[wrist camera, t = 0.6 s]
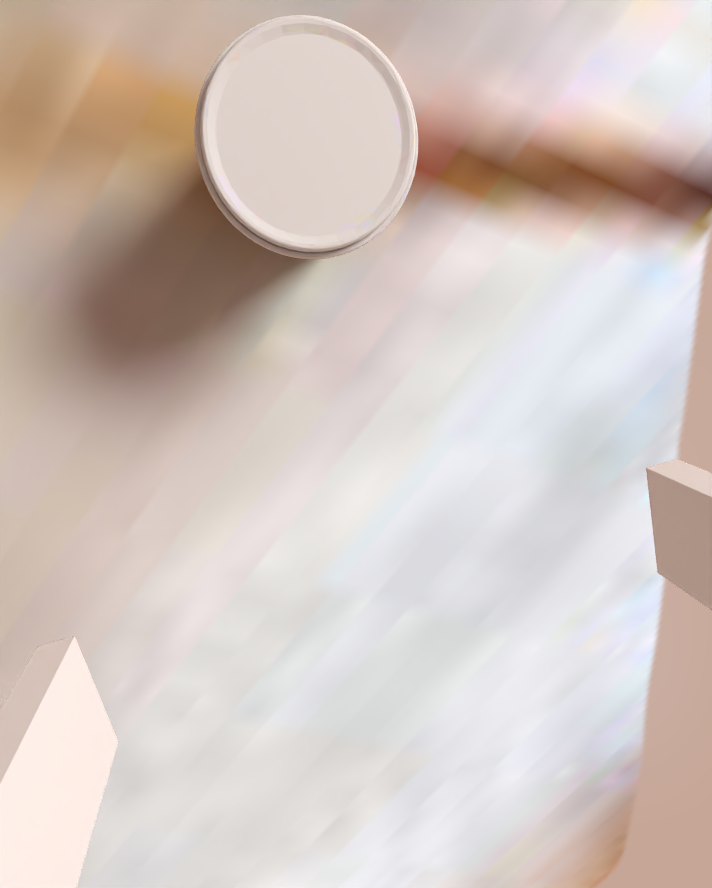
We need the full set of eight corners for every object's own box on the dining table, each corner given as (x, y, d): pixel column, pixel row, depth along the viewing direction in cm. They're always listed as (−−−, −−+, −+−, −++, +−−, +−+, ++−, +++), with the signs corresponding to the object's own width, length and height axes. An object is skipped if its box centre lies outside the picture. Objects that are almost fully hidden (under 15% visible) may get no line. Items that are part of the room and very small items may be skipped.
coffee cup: (325, 296, 38) (358, 297, 27) (183, 219, 36) (153, 184, 25) (396, 155, 37) (462, 93, 26) (255, 66, 35) (257, -47, 23)
